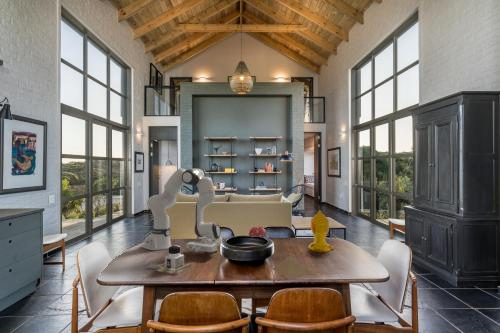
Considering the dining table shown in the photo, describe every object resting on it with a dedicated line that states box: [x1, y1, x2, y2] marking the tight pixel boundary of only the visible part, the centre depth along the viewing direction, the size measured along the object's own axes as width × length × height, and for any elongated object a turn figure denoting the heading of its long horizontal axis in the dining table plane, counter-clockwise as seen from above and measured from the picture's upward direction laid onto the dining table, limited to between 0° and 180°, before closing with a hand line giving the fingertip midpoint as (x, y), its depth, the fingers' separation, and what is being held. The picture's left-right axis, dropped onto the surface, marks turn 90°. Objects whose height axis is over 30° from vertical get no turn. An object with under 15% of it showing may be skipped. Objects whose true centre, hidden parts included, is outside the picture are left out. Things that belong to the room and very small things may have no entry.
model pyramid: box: [272, 254, 313, 279], centre depth 161 cm, size 17×17×10 cm
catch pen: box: [156, 262, 192, 275], centre depth 164 cm, size 14×13×2 cm
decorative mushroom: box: [248, 225, 267, 238], centre depth 217 cm, size 13×13×15 cm
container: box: [164, 245, 185, 269], centre depth 164 cm, size 8×8×13 cm
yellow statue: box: [308, 209, 334, 253], centre depth 210 cm, size 18×24×28 cm
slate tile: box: [145, 263, 161, 270], centre depth 167 cm, size 6×6×2 cm
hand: (193, 249), depth 181 cm, fingers closed
